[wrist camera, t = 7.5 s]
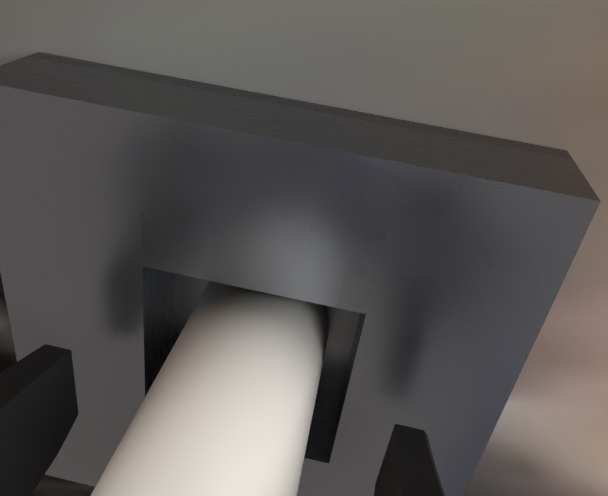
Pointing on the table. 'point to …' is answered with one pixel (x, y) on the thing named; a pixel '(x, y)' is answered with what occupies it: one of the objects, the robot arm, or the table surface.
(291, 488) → the peg
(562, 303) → the table surface
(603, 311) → the table surface
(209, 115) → the socket block
